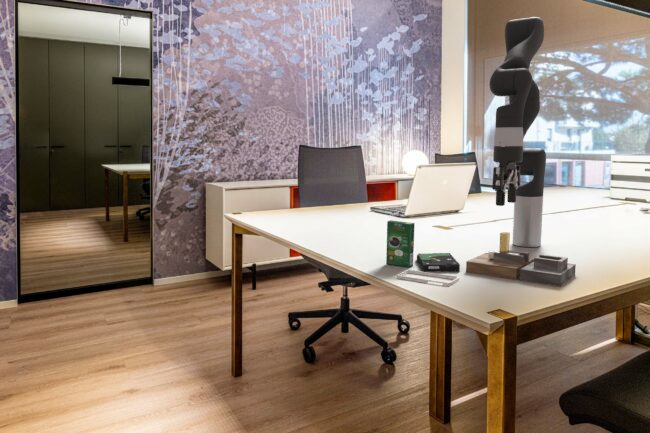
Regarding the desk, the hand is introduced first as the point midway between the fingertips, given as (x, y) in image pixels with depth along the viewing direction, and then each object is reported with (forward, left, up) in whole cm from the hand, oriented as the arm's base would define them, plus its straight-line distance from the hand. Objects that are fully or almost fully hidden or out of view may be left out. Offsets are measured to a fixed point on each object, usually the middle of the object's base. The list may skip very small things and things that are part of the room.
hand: (506, 204), depth 145 cm
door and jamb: (0, +4, -19) cm, 20 cm away
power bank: (+20, -13, -20) cm, 31 cm away
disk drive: (+5, -18, -20) cm, 27 cm away
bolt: (0, 0, -16) cm, 16 cm away
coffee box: (+11, -27, -19) cm, 35 cm away
